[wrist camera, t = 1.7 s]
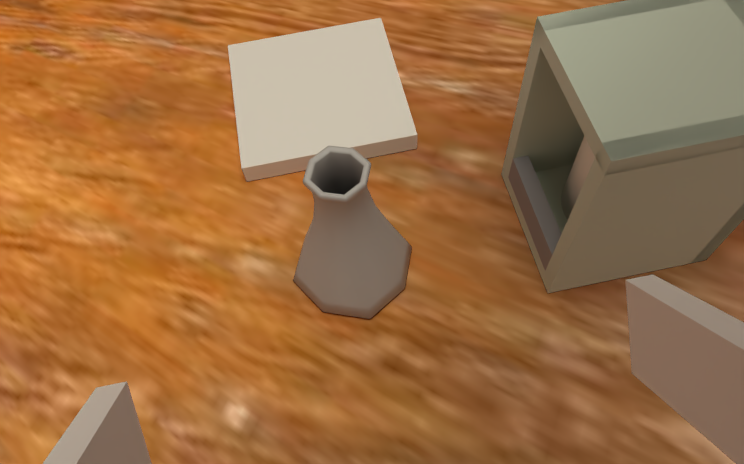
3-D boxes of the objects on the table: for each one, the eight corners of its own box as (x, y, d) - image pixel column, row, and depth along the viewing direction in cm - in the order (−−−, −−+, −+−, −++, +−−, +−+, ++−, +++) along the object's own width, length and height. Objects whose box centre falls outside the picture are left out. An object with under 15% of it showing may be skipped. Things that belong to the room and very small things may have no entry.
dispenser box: (642, 146, 41) (731, -19, 30) (706, 259, 36) (839, 116, 25) (501, 174, 40) (537, 16, 29) (547, 293, 36) (611, 161, 25)
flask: (273, 288, 37) (232, 198, 28) (333, 200, 40) (312, 96, 31) (376, 340, 35) (365, 260, 26) (431, 243, 38) (437, 144, 29)
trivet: (381, 33, 48) (380, 17, 47) (416, 148, 42) (417, 134, 40) (232, 60, 47) (227, 45, 46) (246, 181, 41) (241, 168, 40)
